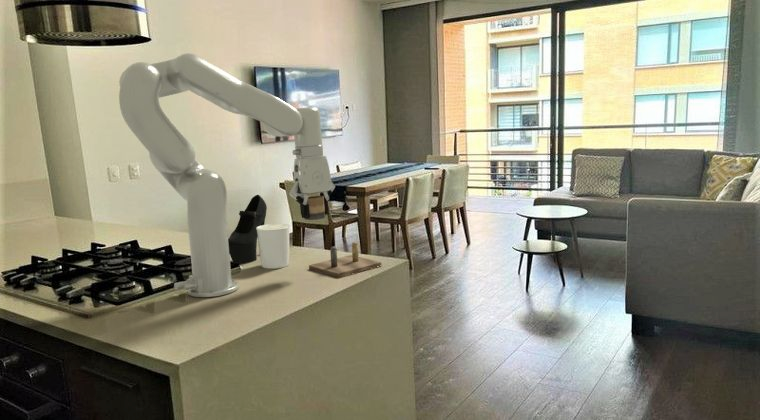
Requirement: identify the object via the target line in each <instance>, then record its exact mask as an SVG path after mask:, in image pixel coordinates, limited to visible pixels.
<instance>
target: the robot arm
mask: <svg viewBox="0 0 760 420" xmlns="http://www.w3.org/2000/svg"><path fill="white" fill-rule="evenodd" d="M118 82H119V91H118V92H119V95H118V98H119V99H118V100H119V109H120V112H121V115H122V117H123V120H124V122H125V123H126V125H127V126H128V128H129V129H130V131H131V132H132V133H133V134H134V136H135V137H136V138H137V139H138V141H139V142H140V143H141V145H142V146H143V147H144V148H145V149H146V150H147V151H148V154H149V159H150V162H151V163H152V165H153V166H154V168H155V169H156V170H157V172H159V173H160V175H161V176H162V177H163V178H164V179H165V180H166V181H167V183H169V185H170V186H171V187H172V188H173V189H174V191H176V192H177V193H178V195H179V196H180V197H182V198H183V199H184V200H185V201H186V202H187V210H186V211H187V212H186V213H187V231H188V237H189V238H188V242H189V250H190V262H191V272H192V274H190V275H188V278H187V279H185V281H178V282H174V284H173V288H174V290H175V291H180V290H184V291H187V295H189V296H191V297H194V298H211V297H212V298H213V297H219V296H224V295H229V294H230V293H233V292H235V291H236V290H237V289H239V283H238V281H235V280H233V279H232V271H231V270H232V269H231V268H232V267H231V256H230V254H229V243H228V239H229V234H228V233H229V230H228V222H227V201H228V200H227V199H228V198H227V197H228V196H227V194H228V193H227V191H228V190H227V186H226V184H225V181H224V178H222V177H221V176H220V174H218V173H217V172H215V171H214V170H211V169H207V168H205V167H204V166H203V164H201V163H200V161H199V160H198V159H197V158H196V152H195V148H194V147H193V146H192V144H191V143H190V141H188V139H186V137H184V135H183V134H182V133H181V132H180V131H179V130H178V129H177V127H176V126H175V125H174V123H172V121H171V120H170V118H169V117H168V116H167V115H166V114H165V112H164V111H163V109H162V107H161V105H160V101H159V100H160V99H159V98H163V97H168V96H173V95H177V94H181V93H184V92H188V91H190V92H191V93H193V94H195V95H197V96H199V97H201V98H202V99H205V100H207V101H209V102H210V103H212V104H213V105H215V106H218V108H220V109H223V110H224V111H227V112H230V113H233V114H236V115H242V116H245V117H249V118H251V119H254V120H256V121H259V122H261V123H262V127H263V129H264V131H265V132H266V133H268V135H270V136H273V137H294V146H295V148H294V149H293V150H292V155H293V156H295V159H294V162H293V185H292V188H291V189H290V190H289V193H288V195H289V196H290V197H291V198H293V199H294V201H296V202H297V204H298V205H299V207H300V209H299V210H300V215H301V218H302V219H305V218H306V219H309V218H310V211H309V204H307V200H308V196H310V195H314V194H318V195H319V196H324V204H325V216H327V215H328V214H329V204H328V203H329V202H328V201H329V200H330V197H331V195H332V193H333V191H334V190H335V188H336V185H335V184H334V183H333V182H332V177H331V170H330V166H329V162H328V159H327V156H326V155H324V149H323V147H324V146H323V136H322V125H321V124H322V123H321V114H320V110H319V108H317V107H314V106H311V107H310V106H309V107H300V108H299V107H297V108H295V107H294V106H292V105H291V104H289V103H287V102H285V101H284V100H282V99H280V98H279V97H277V96H275V95H273V94H271V93H269V92H267V91H264V90H262V89H260V88H257V87H255V86H254V85H252V84H249V83H247V82H244V81H242V80H240V79H239V78H238V77H236V76H233V75H232V74H230V73H228V72H227V71H225V70H223V69H221V67H218V66H216V65H215V64H213V63H211V62H210V61H209V60H206V59H204V58H203V57H201V56H199V55H198V54H194V53H183V54H181V55H179V56H177V57H175V58H172V59H169V60H164V61H159V62H155V63H149V62H143V61H142V62H141V61H140V62H135V63H132V64H130V65H129V66H128V67H127V68H126V69H125V70H124V71H123V72H122V73H121V74H120V77H119V81H118ZM306 219H305V220H306Z"/></svg>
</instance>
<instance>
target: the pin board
mask: <svg viewBox="0 0 760 420" xmlns="http://www.w3.org/2000/svg"><path fill="white" fill-rule="evenodd" d="M337 249H338V248H337V247H336V246H335V245H334V246H331V247H330V249H329V251H330V259H329V260H326V261H322V262H317V263H313V264H308V270H311V271H314V272H318V273H321V274H324V275H327V274H328V276H331V275H332V277H334V276H335V278H338V277H340V278H343V277H342V276H344V277H346V276H345V275H347V276H349V275H348V274H351V275H353V274H352V273H355V274H357V273H356V272H358V273H360V272H359V271H362V272H364V271H363V270H366V271H368V270H367V269H369V270H372V269H371V268H373V269H375V268H374V267H377V266H380V265H381V266H382V262H381V261H378V260H373V259H370V258H364V257H361V256H359V243H358V242H357V241H353V242H352V243H351V254H350V255H346V256H342V257H338V253H337ZM381 266H380V267H381ZM377 268H378V267H377Z"/></svg>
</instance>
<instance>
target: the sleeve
mask: <svg viewBox="0 0 760 420" xmlns="http://www.w3.org/2000/svg"><path fill="white" fill-rule="evenodd" d="M307 204H309V211H310V218H309V219H306V218H304V220H308V221H314V220H315V221H316V220H317V221H318V220H322V219H325V218H326V216H327V215H325V204H324V196H319V194H318V195H308V200H307Z"/></svg>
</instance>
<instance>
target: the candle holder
mask: <svg viewBox="0 0 760 420" xmlns="http://www.w3.org/2000/svg"><path fill="white" fill-rule="evenodd" d="M256 230H257V236H258V237H257V245H258V249H259V258H260V263H261V264H260V265H261V267H262V268H264V269H269V270H271V269H280V268H281V269H282V268H285V267H288V266H289V264H290V225H289V224H287V223H286V224H285V223H270V224H269V223H268V224H264V225H262V226H258V227H257V228H256Z"/></svg>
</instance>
